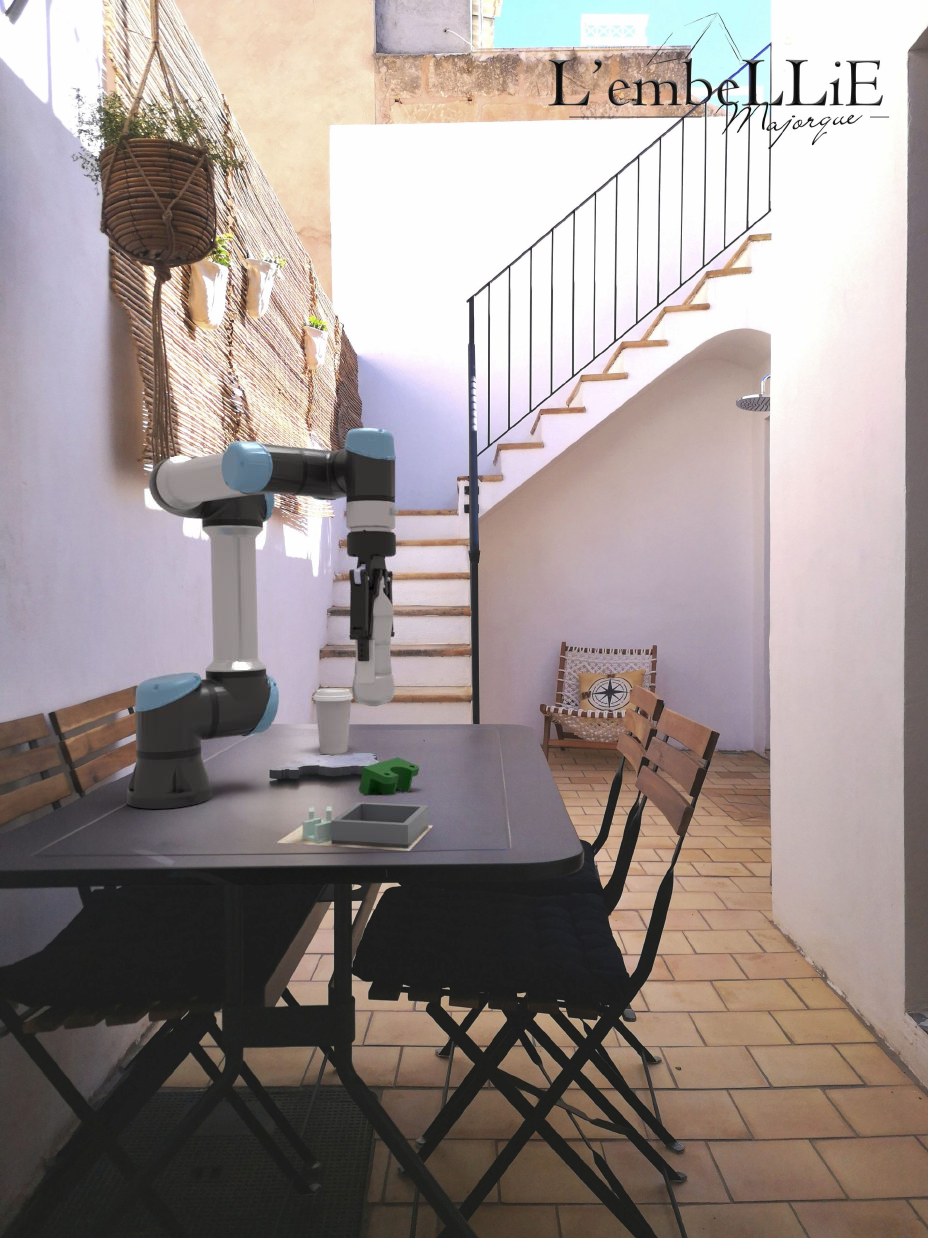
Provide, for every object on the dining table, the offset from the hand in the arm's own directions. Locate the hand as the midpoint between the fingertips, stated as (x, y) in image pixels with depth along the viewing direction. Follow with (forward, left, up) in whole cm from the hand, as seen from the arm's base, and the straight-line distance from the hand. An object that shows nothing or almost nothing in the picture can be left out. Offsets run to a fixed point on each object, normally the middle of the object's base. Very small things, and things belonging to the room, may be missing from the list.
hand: (373, 680), depth 137 cm
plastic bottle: (0, 0, -4) cm, 4 cm away
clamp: (-7, +33, -26) cm, 42 cm away
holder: (+1, +1, -24) cm, 24 cm away
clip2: (-8, -3, -24) cm, 26 cm away
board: (-3, +1, -25) cm, 26 cm away
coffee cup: (-34, +71, -26) cm, 83 cm away
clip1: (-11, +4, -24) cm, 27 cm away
